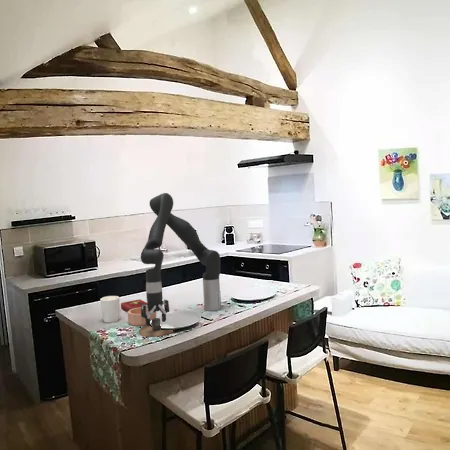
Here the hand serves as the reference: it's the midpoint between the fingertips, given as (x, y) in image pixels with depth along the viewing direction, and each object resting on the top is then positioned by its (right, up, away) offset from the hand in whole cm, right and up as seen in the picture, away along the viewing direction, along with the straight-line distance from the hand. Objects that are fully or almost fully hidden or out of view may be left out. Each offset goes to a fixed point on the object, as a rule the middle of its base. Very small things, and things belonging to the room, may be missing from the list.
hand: (156, 323), depth 214 cm
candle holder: (-27, -3, +22) cm, 35 cm away
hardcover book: (-16, -2, +39) cm, 42 cm away
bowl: (-9, -3, +16) cm, 19 cm away
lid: (0, -4, 0) cm, 4 cm away
